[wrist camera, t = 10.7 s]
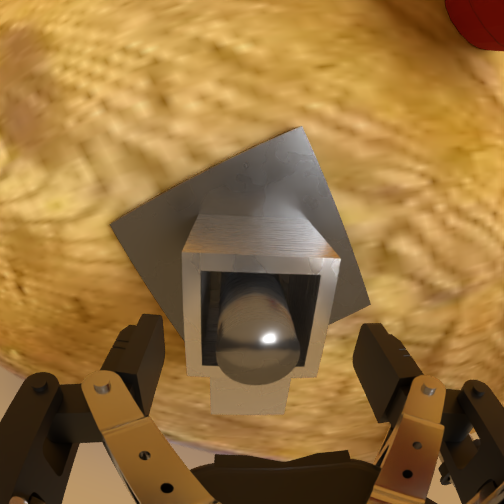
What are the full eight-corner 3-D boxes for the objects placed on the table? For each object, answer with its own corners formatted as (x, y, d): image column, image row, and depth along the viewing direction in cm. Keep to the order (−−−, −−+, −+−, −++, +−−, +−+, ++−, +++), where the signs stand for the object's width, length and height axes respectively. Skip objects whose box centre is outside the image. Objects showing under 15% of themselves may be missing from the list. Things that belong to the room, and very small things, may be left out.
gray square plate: (298, 126, 17) (357, 117, 8) (365, 297, 21) (427, 383, 12) (115, 219, 18) (37, 283, 10) (209, 365, 22) (201, 468, 13)
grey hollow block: (198, 214, 17) (181, 252, 12) (307, 219, 18) (340, 258, 12) (199, 356, 20) (191, 423, 15) (288, 358, 21) (303, 424, 15)
